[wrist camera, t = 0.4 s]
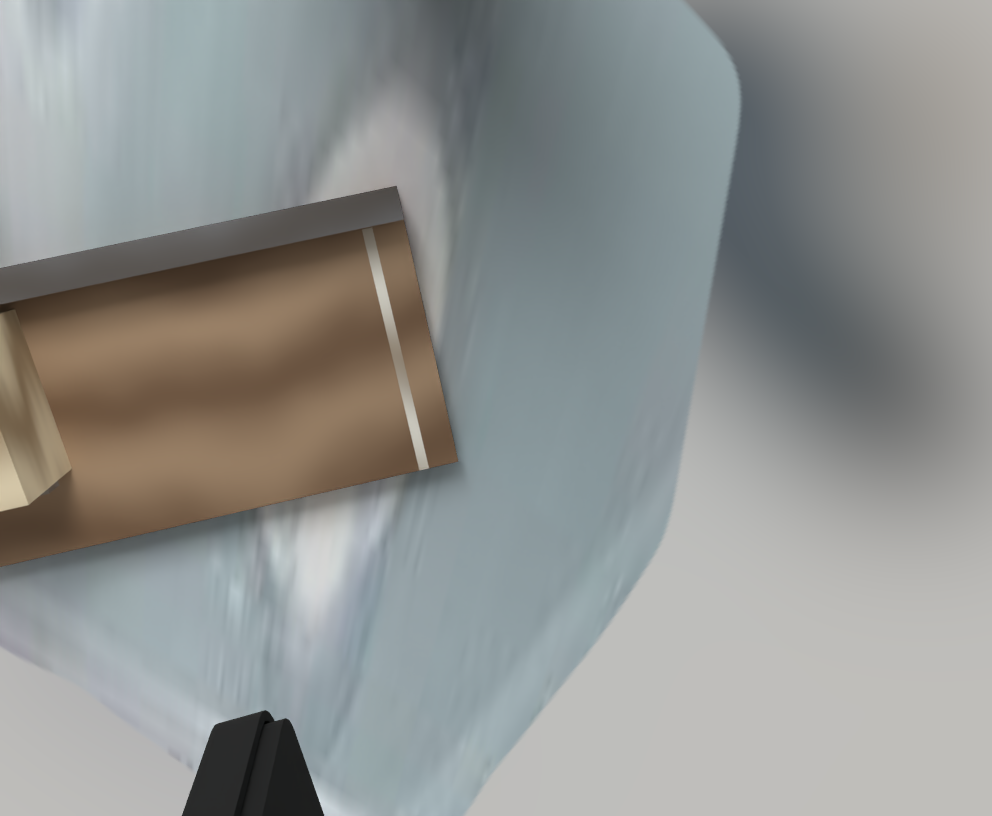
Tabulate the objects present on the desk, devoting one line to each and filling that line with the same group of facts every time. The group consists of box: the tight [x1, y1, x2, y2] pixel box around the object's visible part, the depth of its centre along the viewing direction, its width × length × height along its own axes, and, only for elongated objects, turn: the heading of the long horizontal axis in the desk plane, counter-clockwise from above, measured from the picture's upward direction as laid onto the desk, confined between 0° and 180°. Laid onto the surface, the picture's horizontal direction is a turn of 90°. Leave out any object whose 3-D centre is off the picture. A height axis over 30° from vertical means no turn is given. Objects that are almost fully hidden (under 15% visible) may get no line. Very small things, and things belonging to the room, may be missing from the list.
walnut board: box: [0, 186, 458, 567], centre depth 40 cm, size 14×26×4 cm, turn 101°
